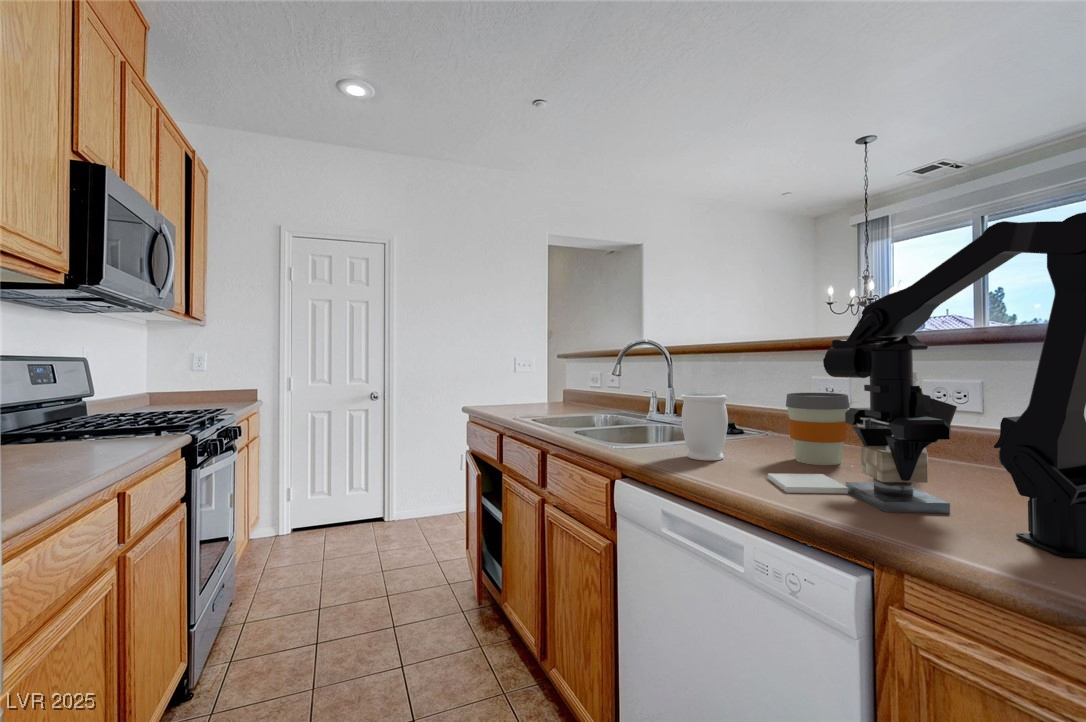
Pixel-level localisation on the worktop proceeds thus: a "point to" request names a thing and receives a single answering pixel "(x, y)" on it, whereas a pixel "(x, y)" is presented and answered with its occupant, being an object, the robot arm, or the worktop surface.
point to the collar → (889, 465)
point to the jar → (704, 425)
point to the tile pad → (807, 483)
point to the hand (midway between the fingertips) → (892, 475)
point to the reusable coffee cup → (818, 426)
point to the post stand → (897, 496)
